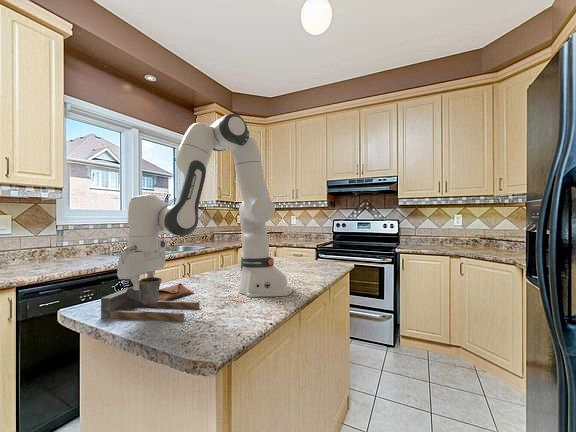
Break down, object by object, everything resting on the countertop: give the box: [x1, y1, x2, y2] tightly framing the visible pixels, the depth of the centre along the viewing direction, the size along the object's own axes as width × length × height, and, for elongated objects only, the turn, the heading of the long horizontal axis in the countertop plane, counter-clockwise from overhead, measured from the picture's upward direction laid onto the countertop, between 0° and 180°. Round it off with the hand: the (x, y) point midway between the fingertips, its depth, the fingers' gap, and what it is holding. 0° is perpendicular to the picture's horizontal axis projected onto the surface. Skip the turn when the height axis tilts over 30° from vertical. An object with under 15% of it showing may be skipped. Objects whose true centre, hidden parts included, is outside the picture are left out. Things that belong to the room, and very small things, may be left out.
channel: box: [100, 287, 200, 322], centre depth 92 cm, size 26×12×6 cm, turn 84°
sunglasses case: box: [158, 282, 195, 301], centre depth 110 cm, size 18×7×7 cm
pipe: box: [125, 276, 163, 305], centre depth 93 cm, size 6×13×8 cm, turn 72°
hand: (143, 287), depth 93 cm, fingers closed on pipe, 5 cm apart
